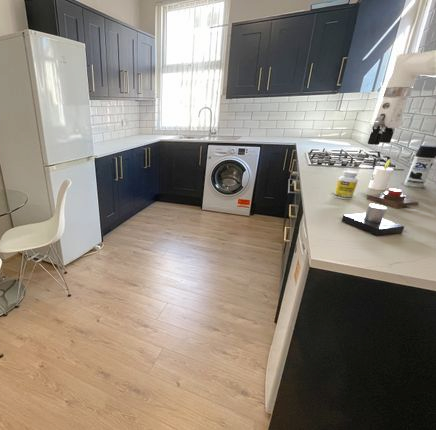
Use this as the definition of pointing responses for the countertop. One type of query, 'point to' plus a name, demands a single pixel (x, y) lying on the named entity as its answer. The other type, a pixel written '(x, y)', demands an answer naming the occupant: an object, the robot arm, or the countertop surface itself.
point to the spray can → (421, 166)
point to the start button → (395, 192)
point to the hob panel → (372, 225)
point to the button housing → (392, 200)
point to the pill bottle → (346, 185)
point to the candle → (381, 177)
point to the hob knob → (375, 213)
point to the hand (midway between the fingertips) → (378, 143)
